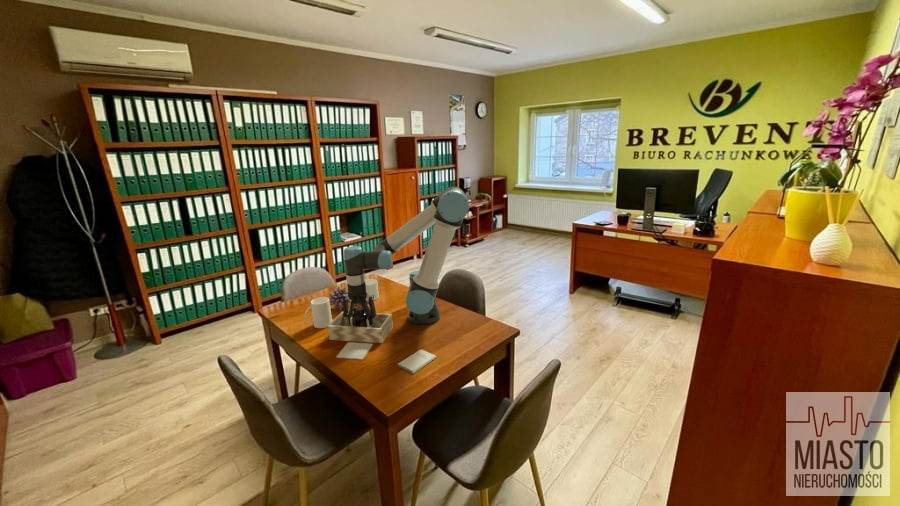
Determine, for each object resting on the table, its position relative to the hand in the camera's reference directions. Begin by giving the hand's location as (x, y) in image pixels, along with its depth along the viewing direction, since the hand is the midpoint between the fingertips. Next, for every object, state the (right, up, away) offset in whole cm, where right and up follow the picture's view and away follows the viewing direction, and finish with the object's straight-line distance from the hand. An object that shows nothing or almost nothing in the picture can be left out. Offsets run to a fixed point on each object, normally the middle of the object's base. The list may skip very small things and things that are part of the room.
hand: (361, 331), depth 159 cm
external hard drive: (+27, -8, -22) cm, 35 cm away
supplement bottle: (0, -1, 0) cm, 1 cm away
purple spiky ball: (-17, +6, +26) cm, 31 cm away
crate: (0, -1, 0) cm, 1 cm away
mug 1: (-22, +1, +9) cm, 24 cm away
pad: (+1, -5, -13) cm, 14 cm away
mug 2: (-5, +10, +38) cm, 40 cm away
